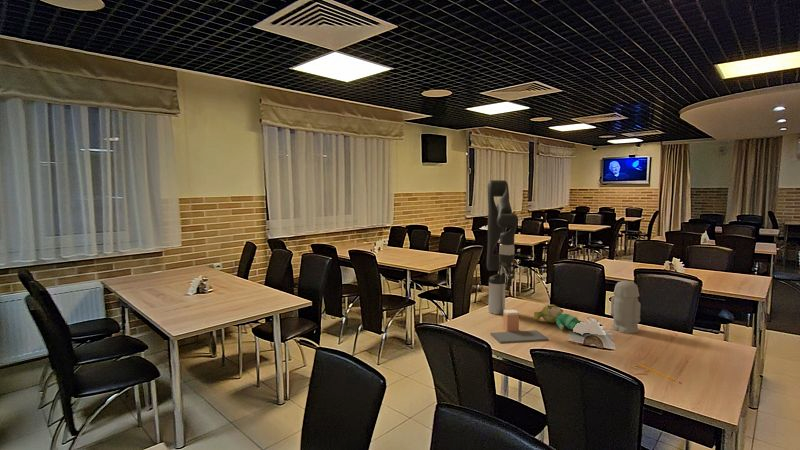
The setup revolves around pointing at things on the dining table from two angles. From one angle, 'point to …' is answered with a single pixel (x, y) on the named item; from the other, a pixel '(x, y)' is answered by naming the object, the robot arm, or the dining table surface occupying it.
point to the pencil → (656, 372)
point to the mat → (519, 336)
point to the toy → (557, 317)
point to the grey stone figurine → (625, 307)
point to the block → (511, 320)
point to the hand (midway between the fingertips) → (505, 284)
